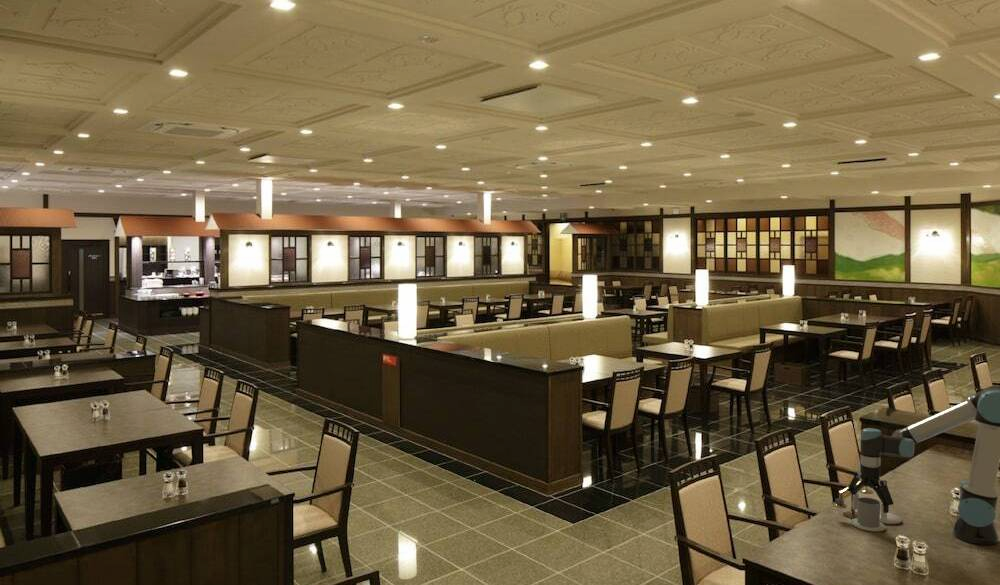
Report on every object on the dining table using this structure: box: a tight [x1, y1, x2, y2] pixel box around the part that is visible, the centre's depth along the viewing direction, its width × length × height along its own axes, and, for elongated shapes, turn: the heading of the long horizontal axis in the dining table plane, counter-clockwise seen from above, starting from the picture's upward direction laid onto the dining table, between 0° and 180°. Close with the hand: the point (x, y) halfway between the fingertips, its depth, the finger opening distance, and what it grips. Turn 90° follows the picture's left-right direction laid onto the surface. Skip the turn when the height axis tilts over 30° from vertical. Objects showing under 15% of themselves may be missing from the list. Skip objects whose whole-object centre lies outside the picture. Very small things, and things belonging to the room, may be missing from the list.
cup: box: [856, 496, 881, 528], centre depth 291 cm, size 8×8×10 cm
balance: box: [832, 479, 875, 520], centre depth 302 cm, size 22×6×16 cm, turn 113°
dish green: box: [850, 518, 886, 533], centre depth 291 cm, size 13×13×1 cm
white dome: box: [880, 510, 903, 525], centre depth 299 cm, size 13×13×1 cm
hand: (869, 514), depth 291 cm, fingers open, 13 cm apart
